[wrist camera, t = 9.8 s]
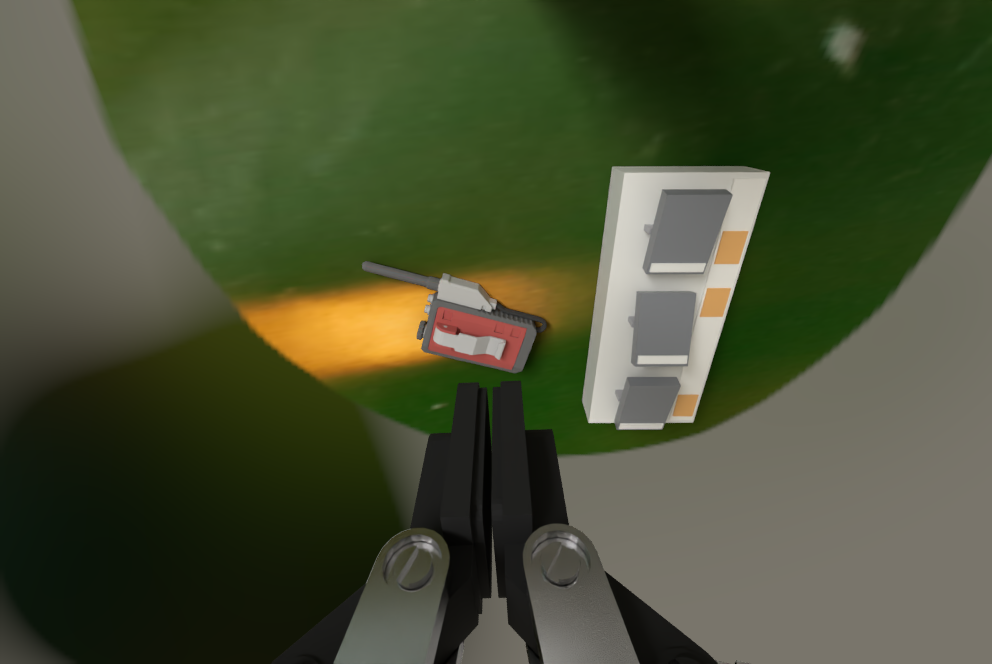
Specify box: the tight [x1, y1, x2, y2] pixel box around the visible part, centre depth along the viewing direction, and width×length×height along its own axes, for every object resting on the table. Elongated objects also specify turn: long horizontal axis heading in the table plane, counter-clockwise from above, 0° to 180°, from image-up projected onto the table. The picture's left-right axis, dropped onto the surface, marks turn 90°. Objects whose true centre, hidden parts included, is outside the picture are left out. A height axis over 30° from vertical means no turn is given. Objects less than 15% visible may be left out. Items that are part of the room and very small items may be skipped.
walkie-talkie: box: [362, 261, 547, 373], centre depth 42 cm, size 9×4×20 cm
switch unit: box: [582, 166, 770, 423], centre depth 41 cm, size 27×12×5 cm, turn 0°
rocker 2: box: [631, 291, 697, 367], centre depth 38 cm, size 7×5×1 cm
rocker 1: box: [642, 189, 733, 274], centre depth 33 cm, size 7×5×1 cm
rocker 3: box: [614, 377, 681, 430], centre depth 42 cm, size 7×5×1 cm
